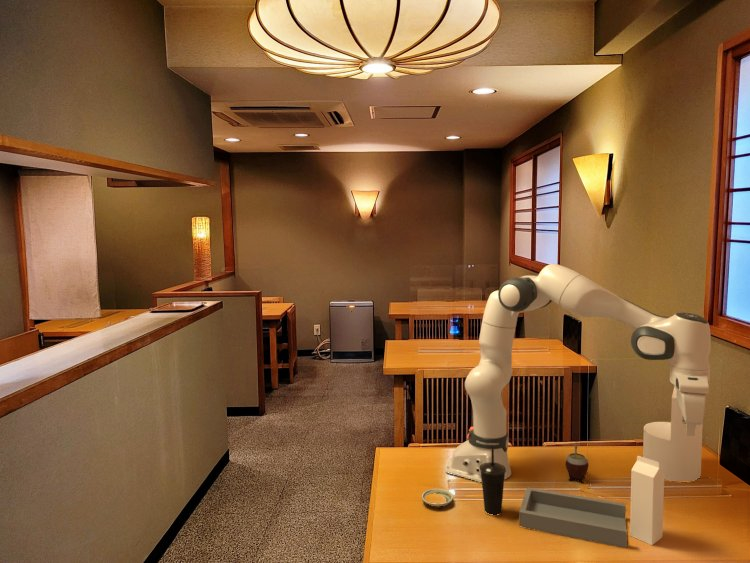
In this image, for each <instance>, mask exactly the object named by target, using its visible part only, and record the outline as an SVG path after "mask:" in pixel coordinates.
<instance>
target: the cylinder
mask: <svg viewBox="0 0 750 563" xmlns="http://www.w3.org/2000/svg"><path fill="white" fill-rule="evenodd" d="M673 386H674V387H673V390H672V391H673V392H672V395H671V405H670V406H671V408H670V409H671V410H670V421H652V422H649V423H646V424H645V425H644V426H643V440H642V441H643V446H642V457H644V458H647V459H650V460H653V461H656V462H659V464H660V469H662V470H664V479H665V480H664V481H667V480H671V481H670V482H672V481H693V480H697V479H698V478H701V477H700V476H702V457H703V456H702V454H703V452H702V450H703V449H702V448H703V430H704V429H703V425H704V424H703V423H704V421H703V422H702V424H701V425H696V428H695V435H694V436H688V435H687V434H686V424H683V423H682V413H681V409H680V406H679V403H678V401H677V396H676V393H677V390H676V389H675V385H673ZM698 480H699V479H698ZM698 480H697V481H698Z"/></svg>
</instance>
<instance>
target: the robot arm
mask: <svg viewBox="0 0 750 563" xmlns="http://www.w3.org/2000/svg"><path fill="white" fill-rule="evenodd" d="M552 302H553V303H555V304H557V305H558V306H560V307H562V308H563V309H564V310H566V311H568V312H569V313H572V314H574V315H577V316H580V317H584V318H585V317H586V318H588V317H589V318H591V317H593V318H594V317H595V318H596V317H601V318H610V319H613V320H616V321H619V322H620V323H623V324H625V325H626V326H628V327H629V328H632V329H633V332H632V334H631V336H630V346H631V347H632V350H633V351H634V353H635V354H636V355H637V356H638V357H640V358H642V359H644V360H646V361H647V360H648V361H663V360H666V361H667V360H668V361H669V382H670V383H671V384H672V385H673V386H675V389H676V390H677V393H676V396H677V401H678V403H679V406H680V409H681V413H682V423H683V424H686V434H687V435H688V436H694V435H695V428H696V425H701V424H702V422H703V423H704V417H705V410H706V404H707V403H706V402H707V395H709V394H710V380H711V364H710V361H709V360H710V358H709V357H710V354H711V351H712V335H711V328H710V324H709V322H708V320H707V319H706V318H705V317H703V316H701V315H699V314H695V313H691V312H677V313H674V314H673V315H672V316H664V315H659V314H656V313H654V312H651V311H650V310H647V309H645V308H643V307H641V306H639V305H637V304H635V303H634V302H632V301H630V300H627V299H625V298H623V297H622V296H619V295H617V294H615V293H614V292H612V291H610V290H608V289H606V288H604V287H603V286H601V285H599V284H598V283H596V282H595V281H593V280H591V279H589V278H588V277H586V276H584V275H583V274H581V273H579V272H577V271H576V270H573V269H571V268H569V267H566V266H564V265H560V264H558V263H550V264H547V265H545V266H544V267H543V268H542V269H541V271H540V272H539V273H538V274H537V275H523V276H518V277H512V278H509V279H507V280H505V281H504V282H502V283H501V285H500V287H499V288H498V290H495V291H493V292H491V293H490V295H489V296H488V299H487V302H486V304H485V308H484V310H483V315H482V321H481V326H480V333H479V338H478V344H479V346H480V359H479V363H478V365H476V366H475V367H473V368H472V369H471V370H470V371H469V373H468V374H467V376H466V378H465V381H464V389H465V391H466V393H467V394H468V396H469V397H470V398H469V399H470V400H471V401H470V402H471V406H472V415H473V416H472V419H473V426H470V428H469V429H468V432H467V436H466V438H467V440H466V441H464V442H462V443H461V444H459V445H458V446H457V447H456V448H455V449H454V451H453V452H452V457H451V458H449V460H448V461H447V462H446V464H445V465H444V470H445V469H446V471H447V472H449V473H452V474H455V475H458V476H461V477H465V478H468V479H471V480H470V481H472V480H475V481H474V482H476V481H478V482H477V483H480V482H482V479H481V471H480V465H481V464H483V463H488V462H491V447H494V462H495V463H499V464H502V465H503V466H505V468H506V472H505V477H504V480H507V479H508V478H510V476H511V475H512V470H511V466H510V462H509V457H508V456H509V455H508V449H509V435H508V431H507V410H506V408H505V406H504V404H503V397H502V392H503V389H504V388H505V387H506V386H507V385H508V383H510V380H511V378H512V375H513V367H512V363H513V359H512V358H513V355H512V354H513V353H512V352H513V346H514V345H513V344H514V338H515V333H516V327H517V322H518V317H519V314H520V313H521V312H530V311H534V310H537V309H542V308H543V309H544V308H545V307H547V306H549V305H550V304H552ZM446 471H445V472H446ZM461 477H460V478H461ZM465 478H464V479H465ZM468 479H467V480H468Z"/></svg>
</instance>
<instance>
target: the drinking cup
mask: <svg viewBox="0 0 750 563" xmlns="http://www.w3.org/2000/svg"><path fill="white" fill-rule="evenodd" d="M480 471H481V479H482V483H481V487H482V495H483V506H484V512H485V511H486V512H487V513H489V514H493V515H497V514H500V513H501V514H502V508H503V497H504V496H503V495H504V485H505V479H504V477H505V472H506V468H505V466H503V465H502V464H499V463H495V462H494V447H491V462H488V463H483V464H481V465H480ZM501 514H500V515H501ZM497 516H498V515H497Z"/></svg>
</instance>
